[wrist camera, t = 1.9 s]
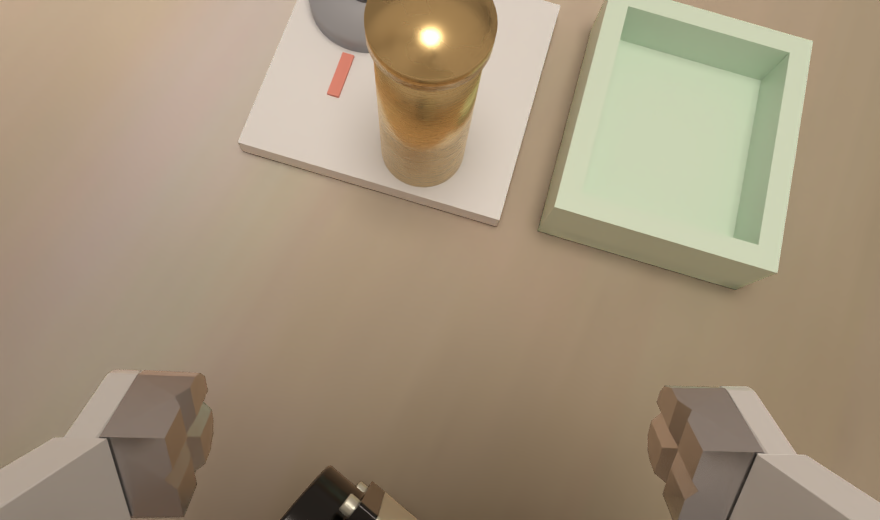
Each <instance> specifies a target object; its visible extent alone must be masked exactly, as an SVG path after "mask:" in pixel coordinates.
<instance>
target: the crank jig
mask: <svg viewBox="0 0 880 520" xmlns="http://www.w3.org/2000/svg"><path fill="white" fill-rule="evenodd" d="M366 2H367V0H297V2H296V4H295V7H294V9H293V11H292V14H291V16H290V18H289V21H288V23H287V26H286V28H285V30H284V33H283V35H282V38H281V40H280V42H279V45H278V47H277V50H276V52H275V54H274V57H273V59H272V61H271V64H270V66H269V69H268V71H267V73H266V76H265V78H264V81H263V83H262V85H261V88H260V90H259V93H258V95H257V97H256V100H255V102H254V104H253V107H252V109H251V112H250V114H249V116H248V119H247V121H246V124H245V126H244V128H243V131H242V133H241V136H240V138H239V140H238V144H239V145H240V147H241V149H242V150H243V151H244V152H248V153H251V154H254V155H258V156H261V157H264V158H268V159H271V160H274V161H278V162H281V163H284V164H288V165H291V166H295V167H298V168H301V169H305V170H308V171H311V172H315V173H318V174H321V175H325V176H328V177H331V178H335V179H338V180H342V181H345V182H348V183H352V184H355V185H358V186H362V187H365V188H368V189H372V190H375V191H378V192H382V193H385V194H388V195H392V196H395V197H399V198H402V199H405V200H409V201H412V202H415V203H419V204H422V205H425V206H429V207H432V208H435V209H439V210H442V211H446V212H449V213H452V214H456V215H459V216H462V217H466V218H469V219H472V220H476V221H479V222H482V223H486V224H489V225H493V226H497V224H498V222H499V220H500V216H501V213H502V209H503V206H504V202H505V199H506V195H507V192H508V188H509V184H510V181H511V177H512V174H513V170H514V167H515V163H516V160H517V156H518V153H519V149H520V146H521V142H522V139H523V135H524V132H525V128H526V125H527V121H528V118H529V114H530V111H531V107H532V104H533V100H534V97H535V93H536V89H537V86H538V82H539V79H540V75H541V72H542V68H543V65H544V61H545V58H546V54H547V51H548V47H549V44H550V40H551V37H552V33H553V30H554V26H555V23H556V19H557V16H558V12H559V9H560V5H557V4H554V3H551V2H547V1H544V0H493V2H494V5H495V7H496V12H497V19H498V26H497V33H496V38H495V42H494V46H493V50H492V53H491V56H490V58H489V60H488V62H487V64H486V65H485V67H484V68H483V69H482V74H481V78H480V83H479V87H478V92H477V97H476V101H475V106H474V110H473V115H472V119H471V124H470V129H469V133H468V138H467V142H466V147H465V152H464V156H463V160H462V163H461V165H460V167H459V169H458V170H457V172H456V173H455V174H454V175H453V176H452V177H451V178H450V179H448V180H447V181H445V182H444V183H441V184H439V185H436V186H432V187H415V186H411V185H408V184H405V183H403V182H401V181H400V180H398V179H397V178H396V177H395V176H393V175H392V174H391V172H390V171H389V170H388V168H387V167H386V165H385V163H384V160H383V157H382V151H381V140H380V129H379V117H378V106H377V95H376V83H375V72H374V61H373V59H372V57H371V55H370V53H369V51H368V47H367V44H366V38H365V28H364V11H365V6H366Z"/></svg>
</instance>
